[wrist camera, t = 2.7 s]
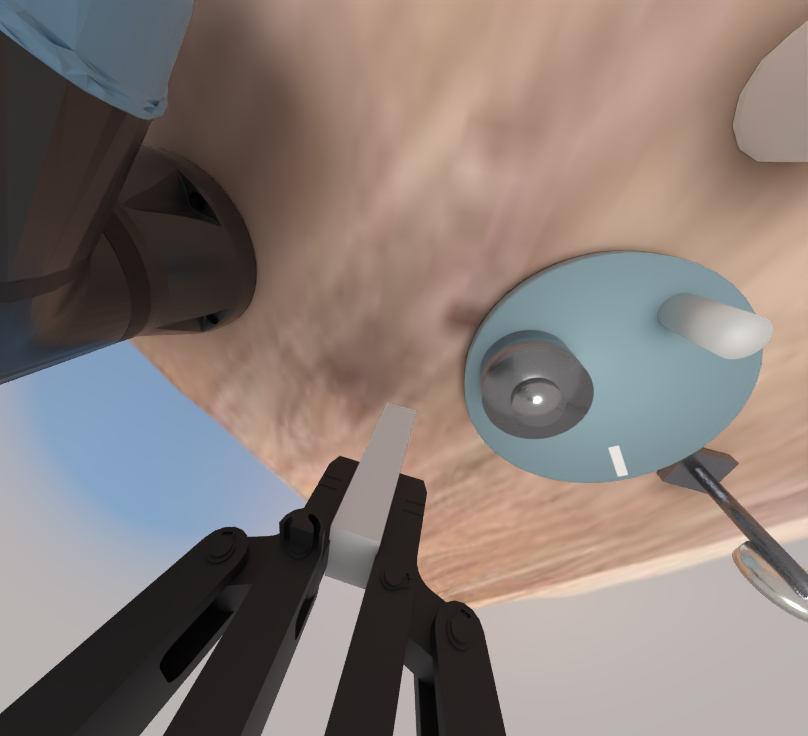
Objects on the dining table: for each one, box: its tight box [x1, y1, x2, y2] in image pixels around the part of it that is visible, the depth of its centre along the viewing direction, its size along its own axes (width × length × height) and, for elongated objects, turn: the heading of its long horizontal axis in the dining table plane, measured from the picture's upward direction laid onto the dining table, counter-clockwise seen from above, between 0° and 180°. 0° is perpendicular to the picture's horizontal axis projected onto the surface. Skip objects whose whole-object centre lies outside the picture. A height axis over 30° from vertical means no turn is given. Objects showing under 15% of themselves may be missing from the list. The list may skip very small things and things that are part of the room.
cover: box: [480, 330, 594, 439], centre depth 21 cm, size 7×7×5 cm
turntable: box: [465, 251, 773, 483], centre depth 21 cm, size 20×20×7 cm
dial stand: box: [657, 448, 808, 622], centre depth 22 cm, size 4×4×12 cm
